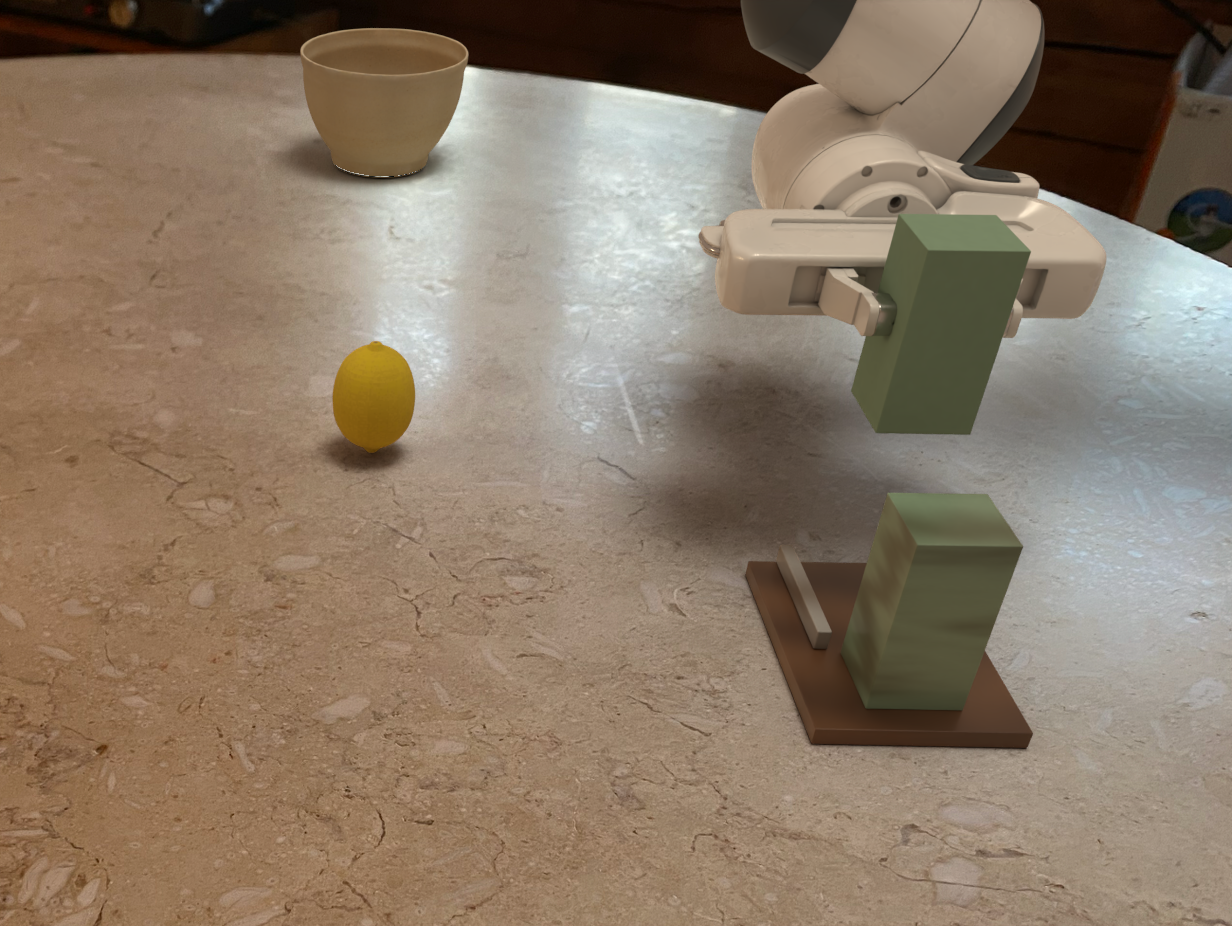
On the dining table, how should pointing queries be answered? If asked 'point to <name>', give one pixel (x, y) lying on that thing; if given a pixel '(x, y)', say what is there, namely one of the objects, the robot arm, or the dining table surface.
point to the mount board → (837, 689)
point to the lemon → (373, 396)
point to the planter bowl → (382, 95)
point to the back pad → (940, 322)
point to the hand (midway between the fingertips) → (944, 324)
